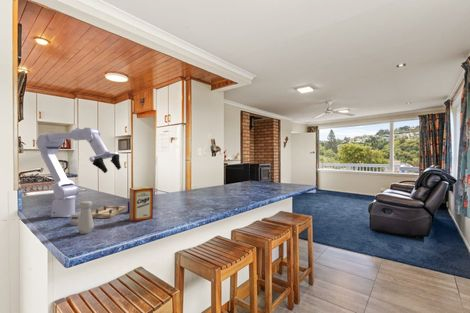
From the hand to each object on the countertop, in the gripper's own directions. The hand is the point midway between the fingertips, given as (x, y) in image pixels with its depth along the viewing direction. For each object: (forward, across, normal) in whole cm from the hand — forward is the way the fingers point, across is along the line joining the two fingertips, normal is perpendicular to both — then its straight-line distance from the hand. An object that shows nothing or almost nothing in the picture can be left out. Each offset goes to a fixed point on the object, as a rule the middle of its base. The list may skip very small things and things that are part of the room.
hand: (113, 170), depth 113 cm
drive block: (+14, -14, +19) cm, 28 cm away
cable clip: (+20, +14, +19) cm, 31 cm away
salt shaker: (+22, -22, +6) cm, 32 cm away
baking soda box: (+28, +3, +4) cm, 28 cm away
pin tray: (+14, +2, +23) cm, 28 cm away
